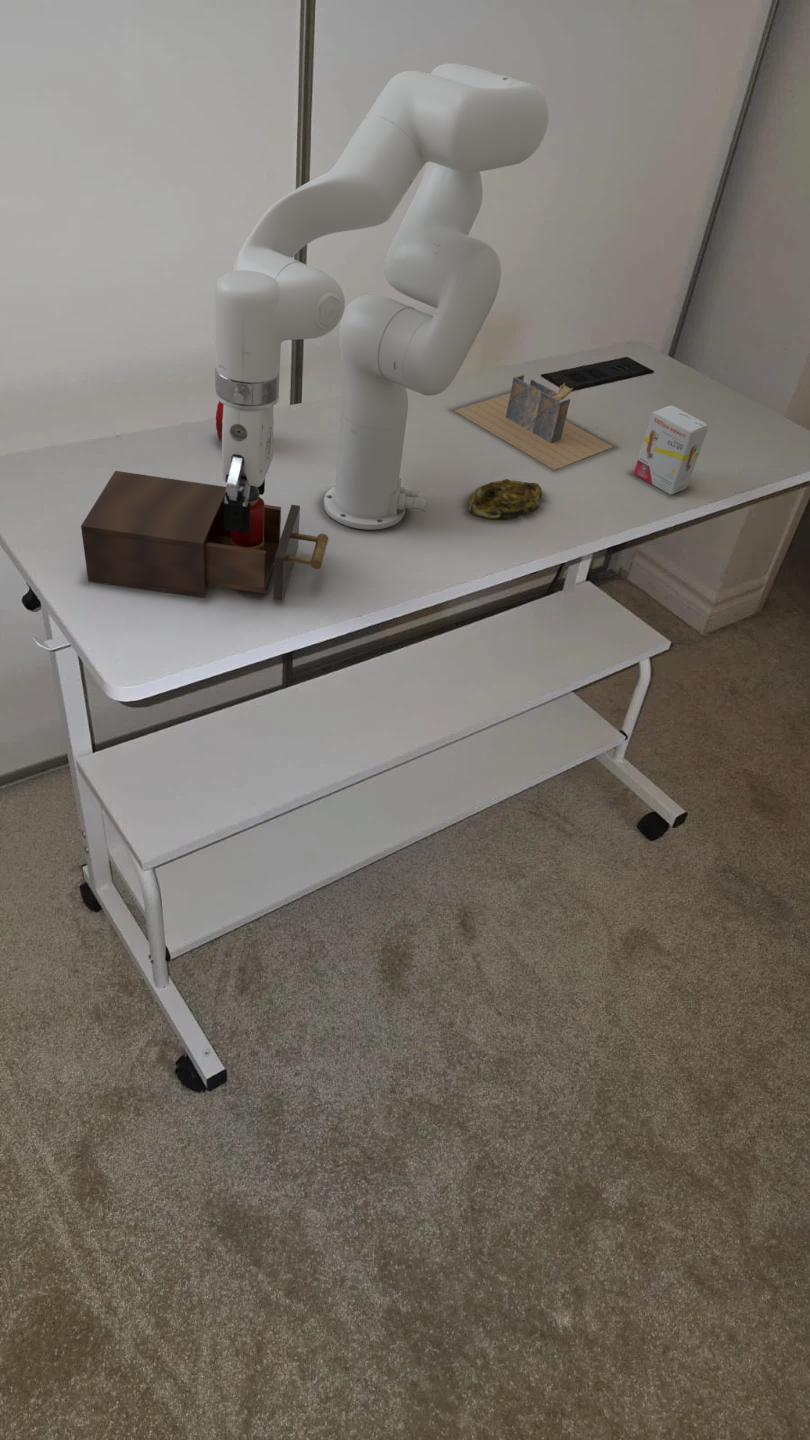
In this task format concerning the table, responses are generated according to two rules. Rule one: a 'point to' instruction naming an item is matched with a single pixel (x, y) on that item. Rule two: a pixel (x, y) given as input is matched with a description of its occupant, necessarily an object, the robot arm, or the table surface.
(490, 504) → the mottled olive oval lump
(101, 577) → the cabinet
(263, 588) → the drawer
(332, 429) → the table surface
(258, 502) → the red cylinder
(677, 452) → the ink box
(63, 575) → the table surface
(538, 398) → the ruin model on sheet
